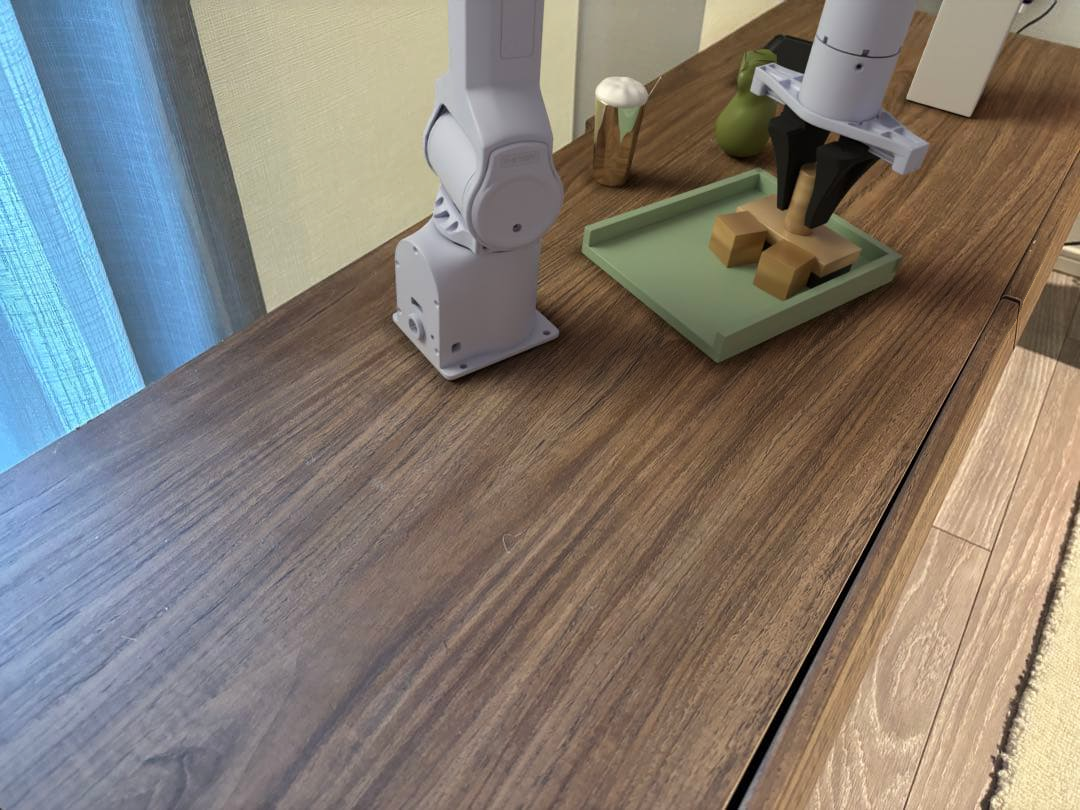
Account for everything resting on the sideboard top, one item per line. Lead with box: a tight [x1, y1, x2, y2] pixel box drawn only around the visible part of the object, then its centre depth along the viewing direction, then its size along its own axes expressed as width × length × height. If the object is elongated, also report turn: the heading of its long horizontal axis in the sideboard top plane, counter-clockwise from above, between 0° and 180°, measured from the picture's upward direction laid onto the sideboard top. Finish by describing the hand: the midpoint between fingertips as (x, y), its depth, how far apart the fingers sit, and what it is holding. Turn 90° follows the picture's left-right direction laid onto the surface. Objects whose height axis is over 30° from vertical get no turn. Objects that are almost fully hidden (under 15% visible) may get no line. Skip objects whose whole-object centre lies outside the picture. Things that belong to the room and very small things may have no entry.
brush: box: [736, 162, 862, 289], centre depth 69 cm, size 4×9×8 cm, turn 36°
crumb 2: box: [753, 239, 816, 301], centre depth 67 cm, size 3×3×3 cm
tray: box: [581, 167, 903, 364], centre depth 71 cm, size 20×16×2 cm
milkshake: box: [591, 75, 662, 188], centre depth 77 cm, size 4×5×10 cm
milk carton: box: [905, 0, 1024, 118], centre depth 92 cm, size 7×7×19 cm
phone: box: [736, 33, 814, 83], centre depth 101 cm, size 8×1×15 cm
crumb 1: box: [709, 211, 768, 268], centre depth 70 cm, size 3×3×3 cm
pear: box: [714, 48, 778, 158], centre depth 82 cm, size 6×5×10 cm
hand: (801, 215), depth 69 cm, fingers closed on brush, 2 cm apart
